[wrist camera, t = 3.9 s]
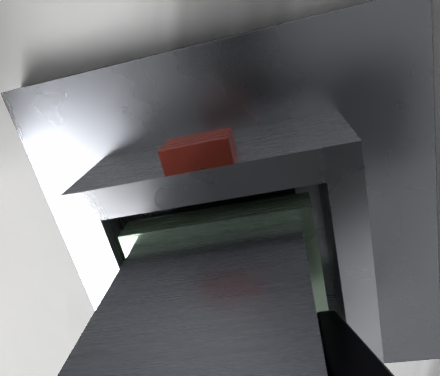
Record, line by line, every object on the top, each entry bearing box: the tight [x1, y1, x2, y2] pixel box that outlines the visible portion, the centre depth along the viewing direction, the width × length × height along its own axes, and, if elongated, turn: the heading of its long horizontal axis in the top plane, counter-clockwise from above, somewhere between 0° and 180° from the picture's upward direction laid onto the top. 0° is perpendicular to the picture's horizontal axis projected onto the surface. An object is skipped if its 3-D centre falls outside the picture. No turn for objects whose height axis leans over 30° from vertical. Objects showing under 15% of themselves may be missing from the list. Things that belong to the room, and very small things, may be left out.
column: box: [58, 188, 329, 376], centre depth 9 cm, size 5×5×8 cm
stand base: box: [1, 0, 440, 364], centre depth 12 cm, size 12×12×4 cm
